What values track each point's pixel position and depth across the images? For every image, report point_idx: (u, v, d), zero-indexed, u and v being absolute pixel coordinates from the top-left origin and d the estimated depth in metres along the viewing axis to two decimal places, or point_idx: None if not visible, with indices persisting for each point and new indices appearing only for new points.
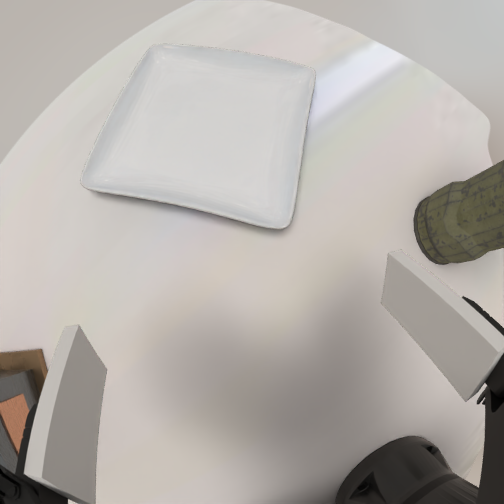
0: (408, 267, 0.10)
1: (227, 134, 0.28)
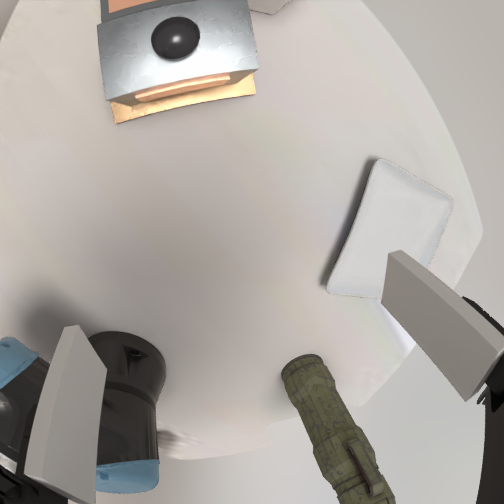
0: (408, 267, 0.10)
1: (381, 250, 0.43)
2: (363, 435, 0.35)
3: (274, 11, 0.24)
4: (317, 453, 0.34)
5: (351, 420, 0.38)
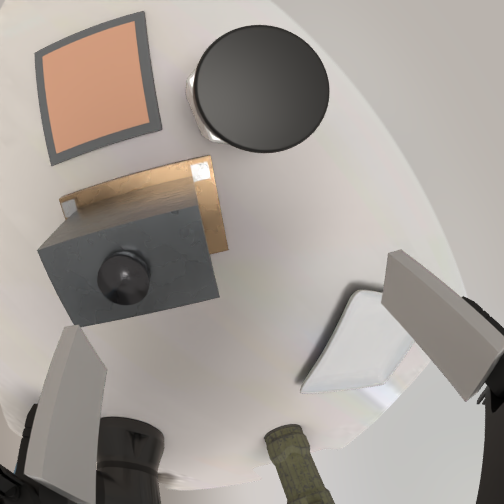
0: (408, 267, 0.10)
1: (357, 352, 0.45)
2: (328, 497, 0.36)
3: None
4: None
5: (319, 484, 0.39)
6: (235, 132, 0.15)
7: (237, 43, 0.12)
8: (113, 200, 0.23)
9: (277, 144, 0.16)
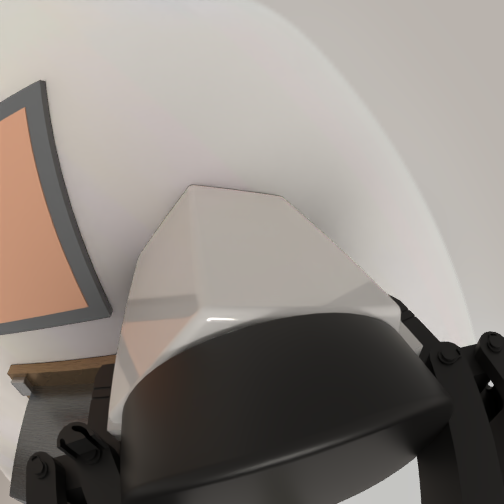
0: None
1: None
2: None
3: None
4: None
5: None
6: None
7: (225, 495, 0.03)
8: (70, 405, 0.14)
9: None
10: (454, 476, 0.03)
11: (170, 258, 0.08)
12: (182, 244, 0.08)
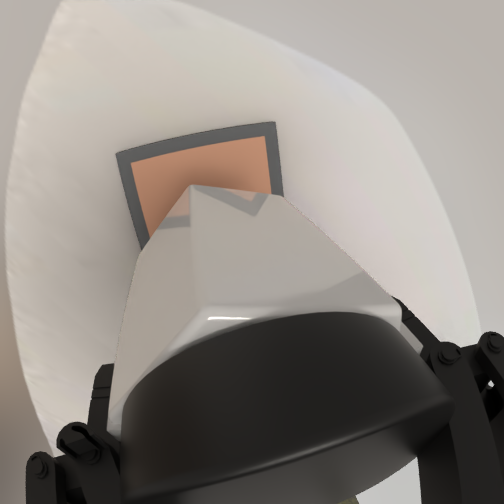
0: None
1: None
2: None
3: None
4: None
5: (356, 503, 0.41)
6: None
7: (226, 496, 0.03)
8: None
9: None
10: (454, 476, 0.03)
11: (170, 257, 0.08)
12: (182, 243, 0.08)
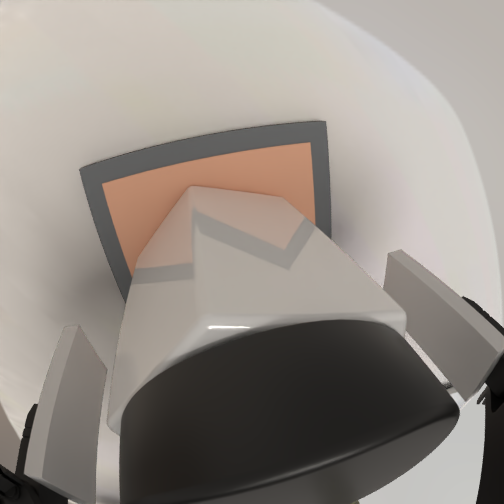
0: (408, 267, 0.10)
1: None
2: None
3: None
4: None
5: None
6: None
7: None
8: None
9: None
10: None
11: (169, 261, 0.08)
12: (181, 247, 0.08)
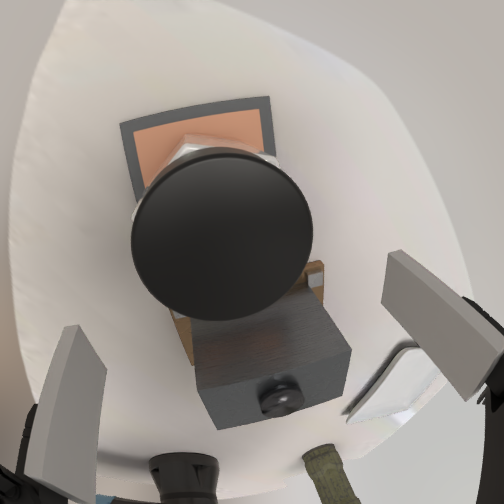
0: (408, 267, 0.10)
1: (392, 388, 0.48)
2: None
3: None
4: None
5: (352, 493, 0.43)
6: (189, 303, 0.13)
7: (181, 192, 0.11)
8: None
9: (240, 312, 0.14)
10: None
11: (172, 153, 0.16)
12: (179, 145, 0.15)
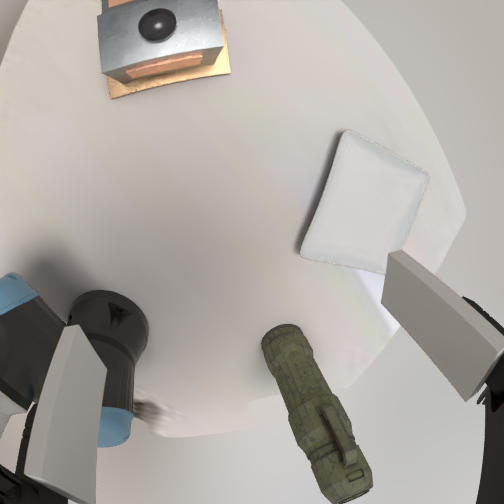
0: (408, 267, 0.10)
1: (356, 220, 0.46)
2: (339, 403, 0.38)
3: None
4: (292, 420, 0.38)
5: (327, 388, 0.41)
6: None
7: None
8: None
9: None
10: None
11: None
12: None
